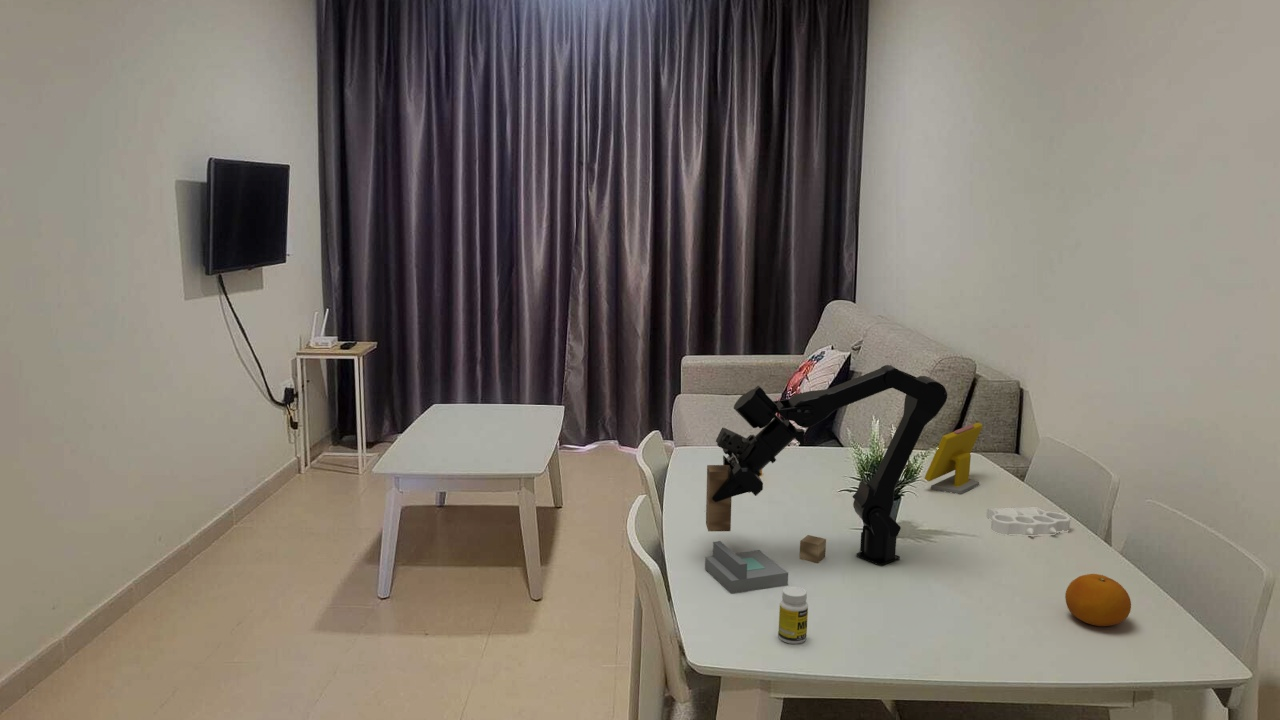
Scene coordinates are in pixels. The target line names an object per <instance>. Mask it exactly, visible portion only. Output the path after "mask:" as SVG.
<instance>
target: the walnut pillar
mask: <svg viewBox="0 0 1280 720" xmlns="http://www.w3.org/2000/svg"><path fill="white" fill-rule="evenodd" d="M728 468H730V466H729V465H723V464H707V465H706V502H705V503H706V504H705V525H706V529H707V532H731V528H732V524H731V523H732V497H730V498H727V499H724V500H721V501H718V502H715V501H714V500H713V499H712V497H713V496H714V495H715V493H716V492H717V491H718V489H719V488H720V487H721V486H722V484H723V483H724V482H725V481H726V479H727V478H728ZM730 469H731V468H730Z"/></svg>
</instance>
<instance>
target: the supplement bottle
mask: <svg viewBox="0 0 1280 720" xmlns="http://www.w3.org/2000/svg"><path fill="white" fill-rule="evenodd" d="M807 593H808V592H807V591H806V590H805V589H804V588H802V587H799V586H787V587H784V588H783V589H782V595H781V598H782V599H781V600H780V602H779V612H778V613H779V615H778V633H777V634H778V635H777V636H778V638H779V640H781V641H782V642H785V643H787V644H794V645H795V644H796V645H797V644H802V643H804V642H805V641H806V640H807V636H808V635H807V634H808V633H807V632H808V615H809V605H808V602H807V598H808V597H807V596H808V595H807Z"/></svg>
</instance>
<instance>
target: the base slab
mask: <svg viewBox="0 0 1280 720" xmlns="http://www.w3.org/2000/svg"><path fill="white" fill-rule="evenodd" d="M704 560H705V561H704V570H705V571H707V573H709V574H710V575H711V576H712V577H713V578H714V579H715V580H716V581H718V583H719V584H720V585H721V586H722V587H723V588H725V589H726V590H727V591H728V592H729V593H730V594H737V593H742V592H748V591H749V592H750V591H756V590H763V589H770V588H775V587H783V586H788V585H789V572H788V571H787V570H786V569H784V568H783V567H782V566H780V565H779V564H778V563H777V562H775V561H774V560H773V559H772V558H770V557H769V556H768V555H766V554H765V553H764V552H763V551H761V550H760V549H758V550H757V549H756V550H749V551H740V552H734V551H732V549H731V548H729V547H728V546H727V545H726V544H724V543H723V542H722V541H721V540H718V541H713V542H712V556H711V555H710V556H705V557H704Z"/></svg>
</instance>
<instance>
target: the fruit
mask: <svg viewBox="0 0 1280 720" xmlns="http://www.w3.org/2000/svg"><path fill="white" fill-rule="evenodd" d="M1064 594H1065V597H1064V598H1065V603H1066V607H1067V609H1068V610H1069V612H1071V614H1072V615H1073V616H1074V617H1075V618H1077V619H1078V620H1080V621H1081V622H1083V623H1086V624H1088V625H1092V626H1097V627H1109V626H1114V625H1117V624H1121V623H1122V622H1124V621H1125V620H1126V619H1127V618H1128V617H1129V615H1130V613H1131V609H1132V600H1131V598H1130V595H1129V594H1128V592H1127V590H1126V589H1125V588H1124V587H1123V585H1122V584H1120V583H1119V582H1118V581H1116V580H1115V579H1113V578H1111V577H1108V576H1107V575H1103V574H1100V573H1099V574H1097V573H1089V574H1088V573H1087V574H1083V575H1080V576H1078V577H1076V578H1075V579H1073V580H1072V581H1071V582H1070V583H1069V584H1068V586H1067V587H1066V590H1065V593H1064Z"/></svg>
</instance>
